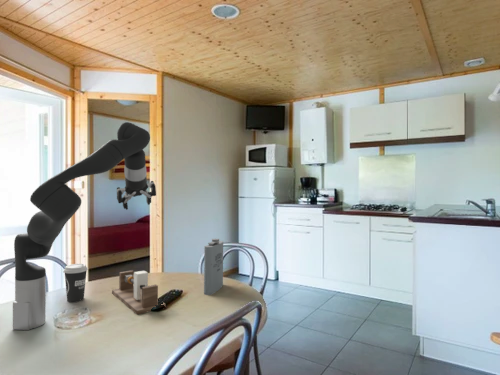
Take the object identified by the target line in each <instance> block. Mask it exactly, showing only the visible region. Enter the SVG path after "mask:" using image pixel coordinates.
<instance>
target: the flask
mask: <svg viewBox="0 0 500 375" xmlns="http://www.w3.org/2000/svg"><path fill="white" fill-rule="evenodd" d="M203 249H204V252H203V254H204V256H203V257H204V260H203V262H204V263H203V265H204V267H203V294H204V296H205V295H206V296H211V295H213V294H215V293H217V292H219V290H221V289H222V287H223V286H224V241H223V240H220V238H211V241H210V242H208V243H207V245H204V248H203ZM216 291H217V292H216Z"/></svg>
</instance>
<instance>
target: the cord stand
mask: <svg viewBox="0 0 500 375" xmlns="http://www.w3.org/2000/svg"><path fill="white" fill-rule="evenodd" d="M134 272H135V271H134V270H133V269H131V270H126V271H120V272H119V273H118V274H119V275H118V276H119V280H118V282H119V283H118V285H119V286H118V288H115V289H111V293H112V294H113V296H115V297H116V298H117V299H118V300H119V301H120V302H121V303H123V304H124V305H125V306H126V307H127V308H128V309H130V310H131V311H132V312H134V313H135V314H136V315H141V314H146V313H149V312H152V311H151V309H152V308H153V307H156V306H155V305H158V299H159V285H157V284H151V285H148V286H146V287H144V286H143V285H140V300H136V299H135V298H134ZM141 289H142V296H141ZM161 305H164V306H165V307H166V303H165V302H163V304H161Z"/></svg>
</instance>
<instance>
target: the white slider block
mask: <svg viewBox="0 0 500 375" xmlns="http://www.w3.org/2000/svg"><path fill="white" fill-rule="evenodd" d="M148 274H149V273H148V271H146V270H139V271H134V284H133V286H134V298H135V299H136V300H140V285H143V286H144V287H146V286H149V282H148V281H149V280H148V279H149V278H148ZM141 296H142V289H141Z"/></svg>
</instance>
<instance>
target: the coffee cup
mask: <svg viewBox="0 0 500 375" xmlns="http://www.w3.org/2000/svg"><path fill="white" fill-rule="evenodd" d="M88 271H89V269H88V266H87V264H85V263H72V264H67V265H66V266H65V268H64V269H63V273H64V279H65V281H64V282H65V291H66V301H67V302H68V303H77V302H81V301H84V299H85V290H86V279H87V272H88Z"/></svg>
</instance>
